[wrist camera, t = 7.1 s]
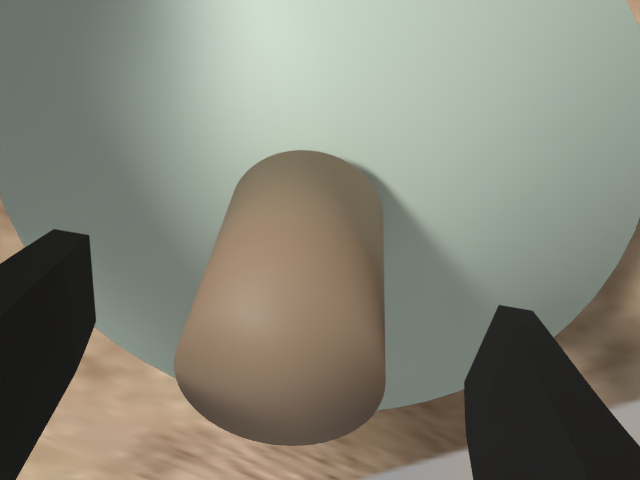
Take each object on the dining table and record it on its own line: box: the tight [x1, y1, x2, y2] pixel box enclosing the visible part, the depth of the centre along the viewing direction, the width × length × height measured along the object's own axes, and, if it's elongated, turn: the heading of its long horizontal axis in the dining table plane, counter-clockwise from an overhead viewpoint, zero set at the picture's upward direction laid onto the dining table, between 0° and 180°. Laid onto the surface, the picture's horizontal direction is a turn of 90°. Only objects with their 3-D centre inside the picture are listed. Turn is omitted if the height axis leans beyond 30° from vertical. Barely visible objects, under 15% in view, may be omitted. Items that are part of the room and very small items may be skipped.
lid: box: [0, 0, 640, 446], centre depth 12 cm, size 14×14×6 cm
